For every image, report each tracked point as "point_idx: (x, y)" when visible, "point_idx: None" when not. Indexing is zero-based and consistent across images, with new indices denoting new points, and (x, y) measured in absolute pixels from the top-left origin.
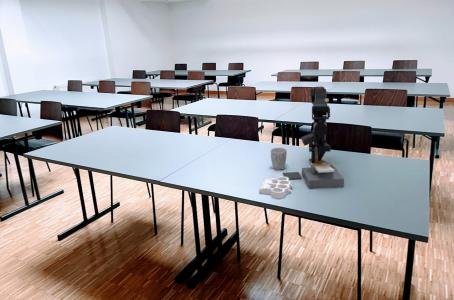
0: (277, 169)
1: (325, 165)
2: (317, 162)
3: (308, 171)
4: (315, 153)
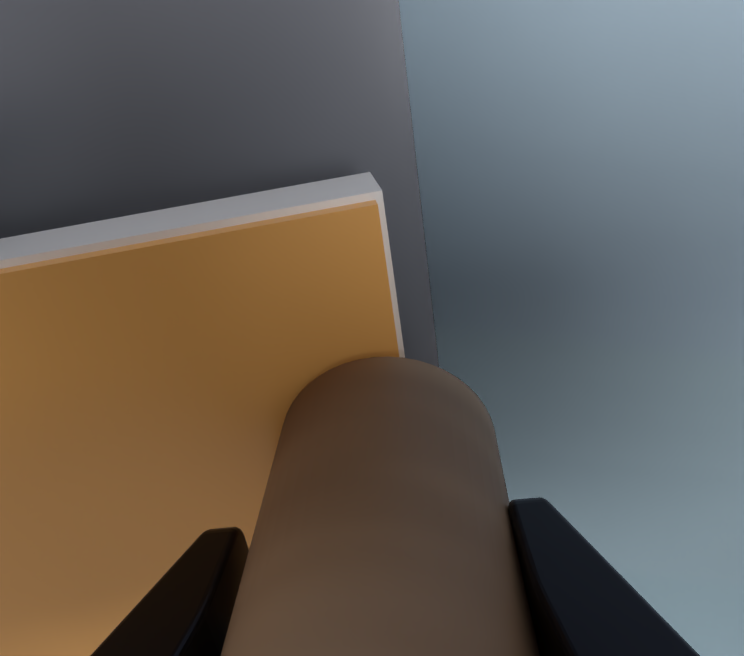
0: None
1: (8, 620)
2: (279, 441)
3: (18, 32)
4: (666, 652)
